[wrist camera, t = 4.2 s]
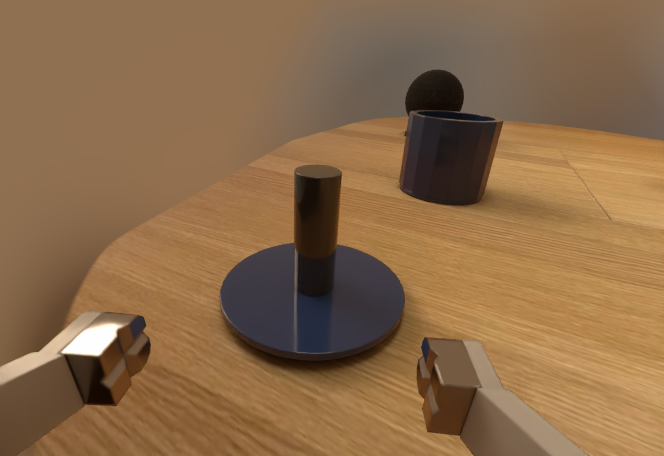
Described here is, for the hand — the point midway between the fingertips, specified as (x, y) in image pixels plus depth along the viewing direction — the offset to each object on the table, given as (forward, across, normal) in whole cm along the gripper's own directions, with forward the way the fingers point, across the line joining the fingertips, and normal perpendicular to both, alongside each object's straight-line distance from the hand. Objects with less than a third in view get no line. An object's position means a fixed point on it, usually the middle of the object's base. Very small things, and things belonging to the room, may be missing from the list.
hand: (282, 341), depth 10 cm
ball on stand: (+77, -22, +6) cm, 80 cm away
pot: (+35, -14, +6) cm, 39 cm away
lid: (+10, 0, +6) cm, 12 cm away
